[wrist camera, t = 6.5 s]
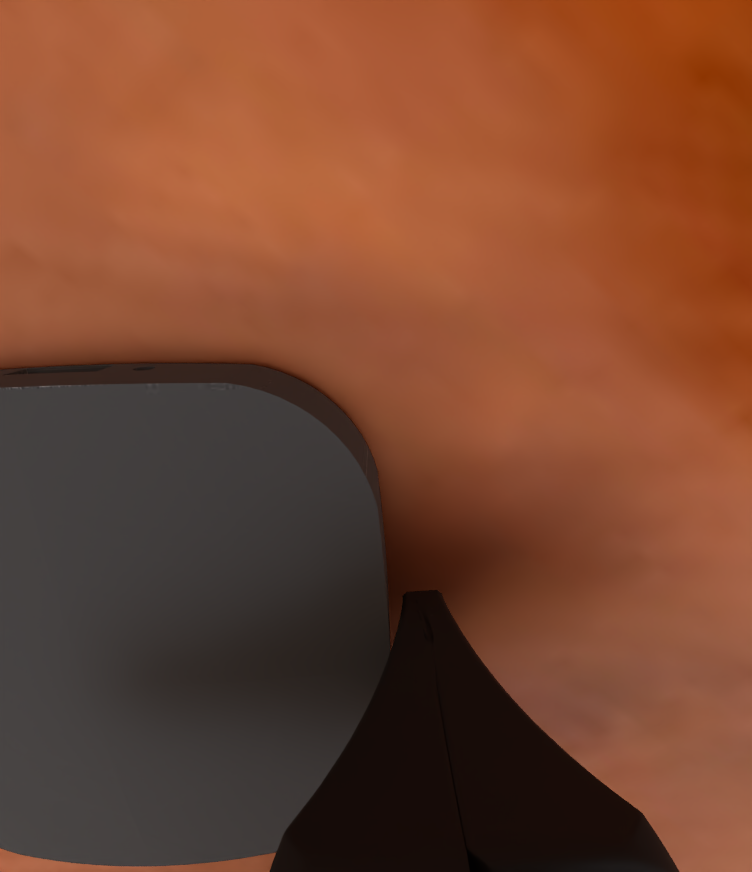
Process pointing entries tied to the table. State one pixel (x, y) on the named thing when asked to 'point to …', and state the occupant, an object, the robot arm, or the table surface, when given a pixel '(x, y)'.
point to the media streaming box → (179, 607)
